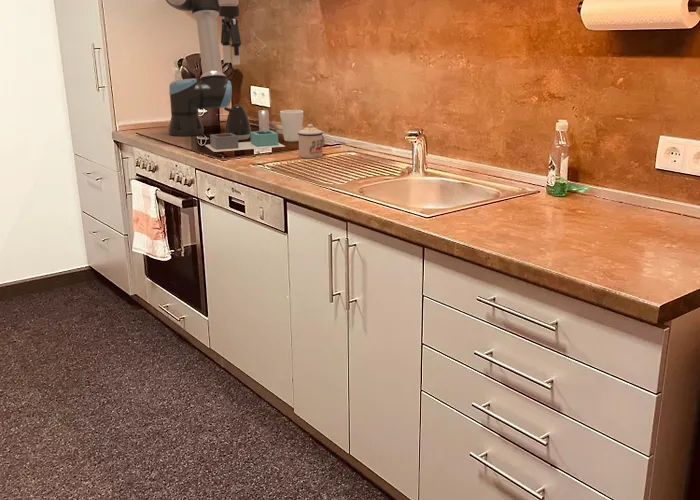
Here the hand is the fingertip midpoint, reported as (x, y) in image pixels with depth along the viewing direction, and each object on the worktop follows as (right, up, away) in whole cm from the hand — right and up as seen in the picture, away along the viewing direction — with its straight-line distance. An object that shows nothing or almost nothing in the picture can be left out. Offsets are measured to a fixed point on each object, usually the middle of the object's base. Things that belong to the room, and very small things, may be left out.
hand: (231, 63), depth 269 cm
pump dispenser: (0, -28, +17) cm, 33 cm away
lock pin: (+12, -31, +3) cm, 33 cm away
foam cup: (+22, -29, +13) cm, 39 cm away
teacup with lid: (+32, -37, -11) cm, 51 cm away
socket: (+12, -31, +3) cm, 33 cm away
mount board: (+5, -33, +1) cm, 34 cm away
